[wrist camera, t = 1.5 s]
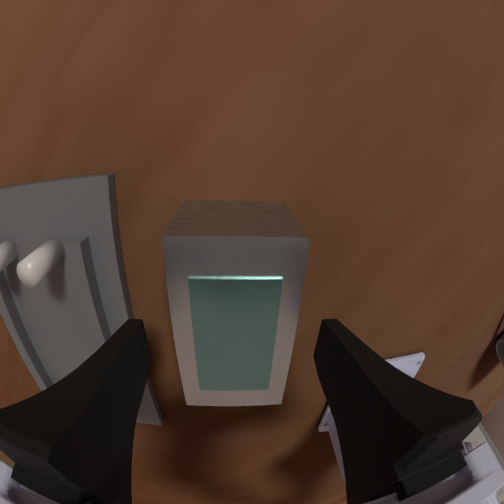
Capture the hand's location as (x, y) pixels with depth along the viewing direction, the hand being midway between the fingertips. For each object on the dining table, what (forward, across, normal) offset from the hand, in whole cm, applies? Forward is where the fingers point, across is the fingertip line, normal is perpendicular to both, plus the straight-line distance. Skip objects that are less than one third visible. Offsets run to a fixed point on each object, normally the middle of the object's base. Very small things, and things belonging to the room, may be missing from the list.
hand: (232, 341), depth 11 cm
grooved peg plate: (+5, +12, +4) cm, 13 cm away
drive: (+5, 0, 0) cm, 5 cm away
